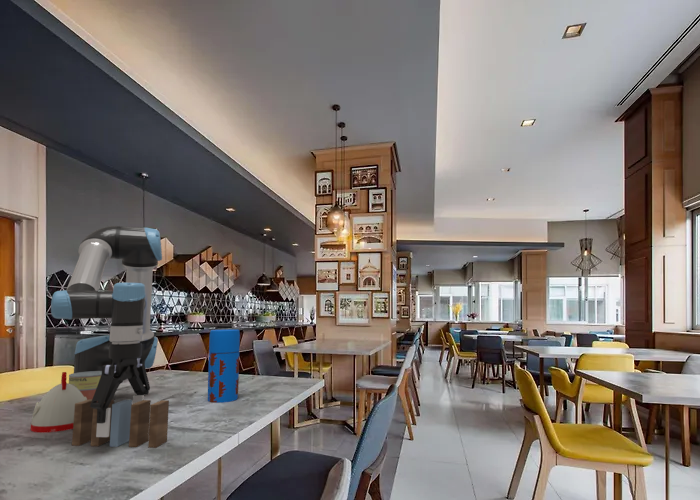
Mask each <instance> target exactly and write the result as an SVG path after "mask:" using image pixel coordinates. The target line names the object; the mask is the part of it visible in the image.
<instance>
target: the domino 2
mask: <svg viewBox="0 0 700 500" xmlns="http://www.w3.org/2000/svg"><path fill="white" fill-rule="evenodd" d="M104 403H105V402H104ZM114 403H115V400H111V402H110V404H109V406H108V408H111V413H110V428H109V437H96V432H97V409H93V419H92V433H91V441H90V447H100V446H102V445H104V444H106V443H109V442H110V432H111V417H112V404H114Z"/></svg>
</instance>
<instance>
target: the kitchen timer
mask: <svg viewBox="0 0 700 500" xmlns="http://www.w3.org/2000/svg"><path fill="white" fill-rule="evenodd" d="M67 378H68V377H67V371H62V372H61V381H60V383H59V384H57V385H55V386H53V387H52V388H51V389H49V390H48V391H47V392H46V393H45V394H44V395H43V397H42V398H41V400H40V401H36V403H35V407H34V410H33V412H32V418H31V422H30V431H31V432H33V433H40V434H41V433H44V434H45V433H57V432H64V431H69V430H73V423H74V410H75V403H79V402H82V401H85V400H87V398H86V397H84V396H83V394H82V393H81V392H80V391H79V390H78V389H77V388H76V387H75V386H73V385H71V384H69V382H68V383H67Z"/></svg>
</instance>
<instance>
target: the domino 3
mask: <svg viewBox="0 0 700 500" xmlns="http://www.w3.org/2000/svg"><path fill="white" fill-rule="evenodd" d="M132 404H133V399H123V400H120V401H117V402H114V404H112V417H111V432H110V441H109V447H111V448H112V447H113V448H117V447H120V446H122V445H124V444H125V443H129V436H130V419H131V405H132Z"/></svg>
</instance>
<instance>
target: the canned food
mask: <svg viewBox="0 0 700 500" xmlns="http://www.w3.org/2000/svg"><path fill="white" fill-rule="evenodd" d="M101 375H102V371H87V372H79V373H74V372H73V373H70V374H69V375H68V384H71V385H73V386H75V387H76V388H77V389H78V390H79V391H80V392H81V393H82V394H83V396H84V397H86V398H87V400H88V399H93V396H94V394H95V391H96V388H97V386H98V383H99V380H100V378H101ZM97 402H98V401H97Z"/></svg>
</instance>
